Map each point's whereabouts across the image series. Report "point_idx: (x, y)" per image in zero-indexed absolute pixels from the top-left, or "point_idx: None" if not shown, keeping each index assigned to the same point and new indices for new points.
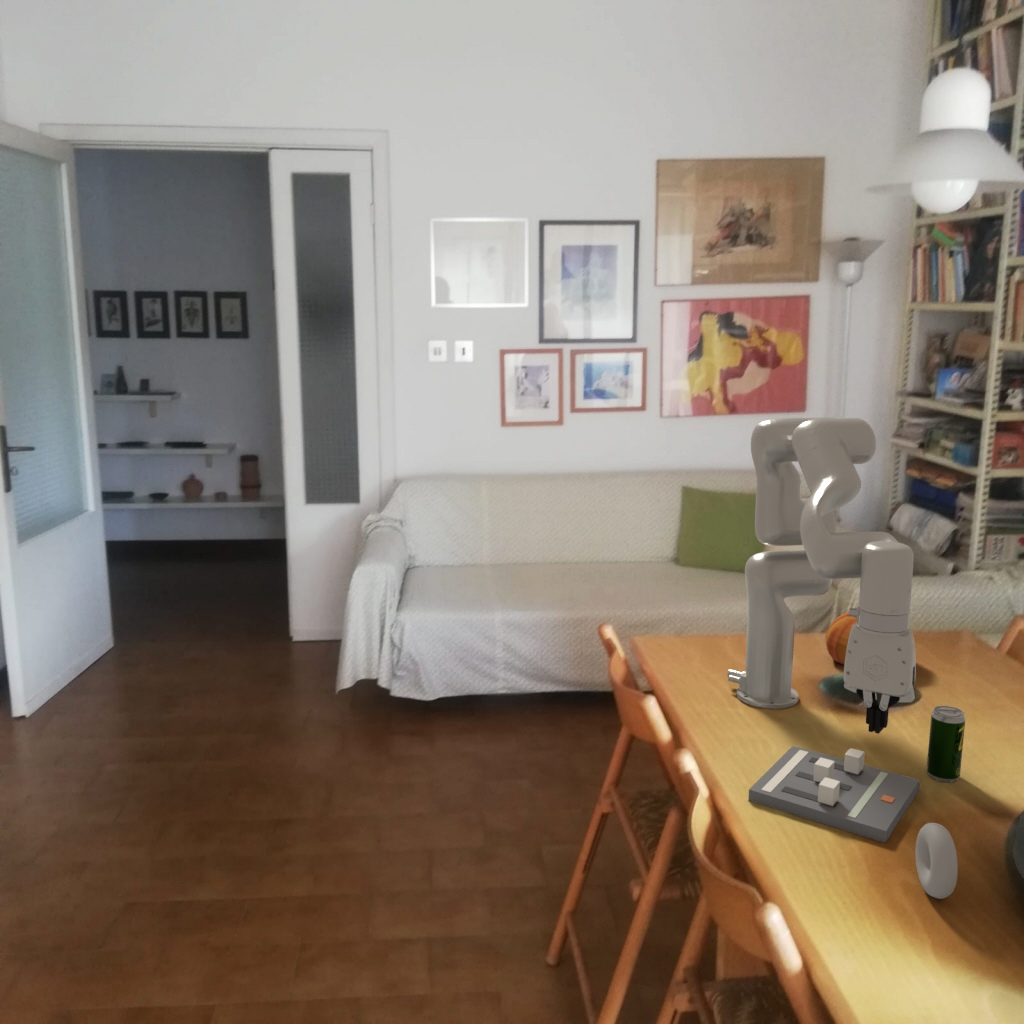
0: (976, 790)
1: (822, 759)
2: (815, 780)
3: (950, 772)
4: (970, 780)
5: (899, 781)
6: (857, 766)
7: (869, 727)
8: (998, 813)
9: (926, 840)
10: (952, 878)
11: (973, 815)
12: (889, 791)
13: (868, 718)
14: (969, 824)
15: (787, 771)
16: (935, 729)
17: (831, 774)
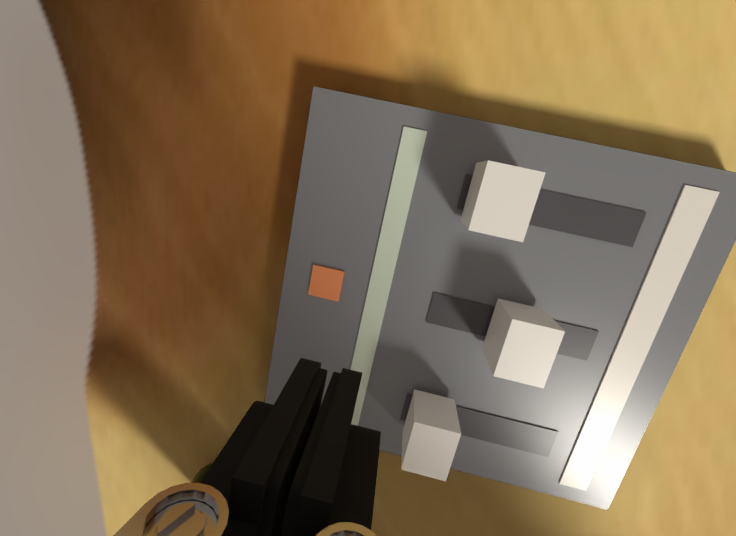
0: (162, 441)
1: (536, 375)
2: (536, 307)
3: (201, 477)
4: (179, 480)
5: None
6: (417, 404)
7: (354, 383)
8: (109, 354)
9: None
10: None
11: (152, 326)
12: (326, 330)
13: (360, 452)
14: (154, 281)
15: (625, 346)
16: None
17: (492, 336)
